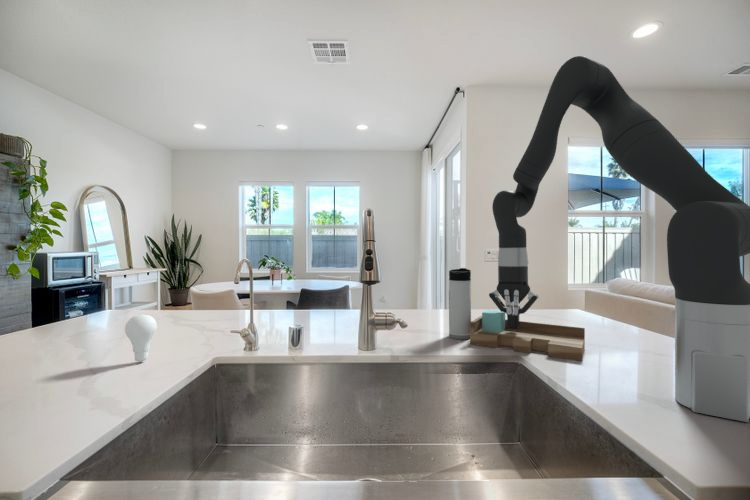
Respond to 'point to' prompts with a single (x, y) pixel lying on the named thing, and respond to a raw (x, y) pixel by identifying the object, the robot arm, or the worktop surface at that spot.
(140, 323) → the lightbulb
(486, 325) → the teal block
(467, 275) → the travel mug
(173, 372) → the worktop surface
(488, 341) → the walnut tray
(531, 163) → the robot arm
